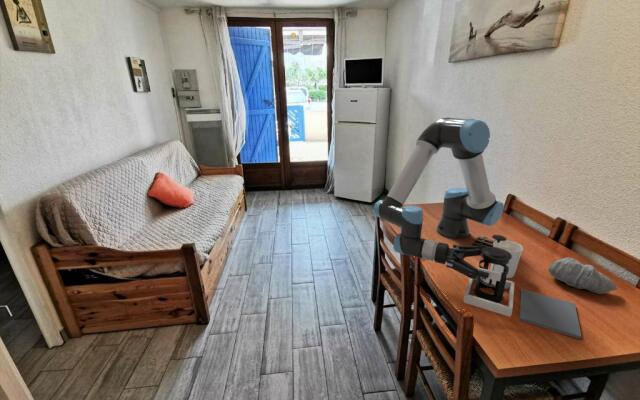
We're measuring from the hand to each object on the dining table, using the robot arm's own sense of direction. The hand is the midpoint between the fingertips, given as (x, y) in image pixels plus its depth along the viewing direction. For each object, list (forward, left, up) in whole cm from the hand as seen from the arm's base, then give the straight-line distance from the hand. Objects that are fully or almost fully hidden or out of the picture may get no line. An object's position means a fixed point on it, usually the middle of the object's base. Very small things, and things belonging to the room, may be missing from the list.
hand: (501, 267), depth 102 cm
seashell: (+25, +23, -13) cm, 36 cm away
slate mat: (+15, 0, -13) cm, 19 cm away
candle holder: (+1, +19, -13) cm, 23 cm away
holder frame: (-2, 0, -13) cm, 13 cm away
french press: (-2, 0, -13) cm, 13 cm away
